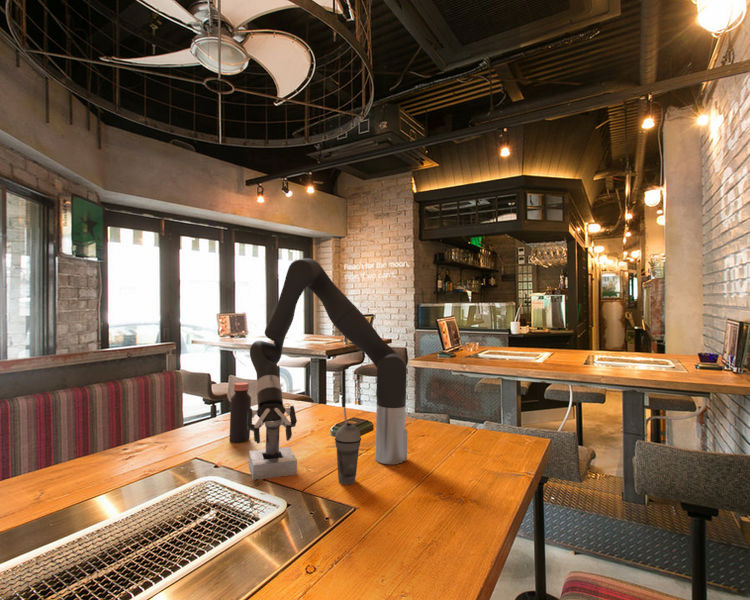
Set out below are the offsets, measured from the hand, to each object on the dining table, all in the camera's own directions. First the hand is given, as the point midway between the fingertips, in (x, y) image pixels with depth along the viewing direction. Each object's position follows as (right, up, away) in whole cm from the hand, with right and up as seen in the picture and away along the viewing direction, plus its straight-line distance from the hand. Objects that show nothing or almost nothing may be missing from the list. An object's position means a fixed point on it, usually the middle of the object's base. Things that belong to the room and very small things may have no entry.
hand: (273, 440), depth 117 cm
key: (-1, -9, +1) cm, 9 cm away
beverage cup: (+22, -9, -6) cm, 24 cm away
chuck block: (-1, -9, +1) cm, 9 cm away
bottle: (-19, -9, +26) cm, 33 cm away
